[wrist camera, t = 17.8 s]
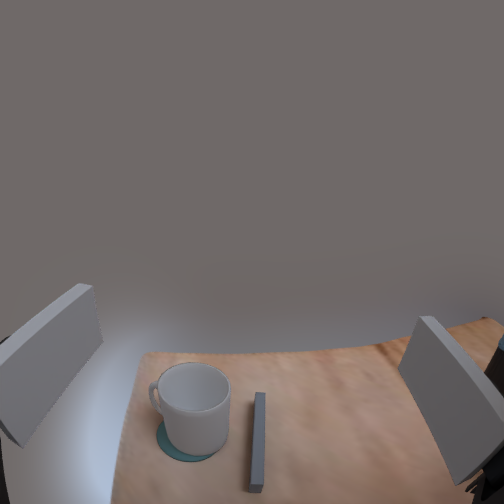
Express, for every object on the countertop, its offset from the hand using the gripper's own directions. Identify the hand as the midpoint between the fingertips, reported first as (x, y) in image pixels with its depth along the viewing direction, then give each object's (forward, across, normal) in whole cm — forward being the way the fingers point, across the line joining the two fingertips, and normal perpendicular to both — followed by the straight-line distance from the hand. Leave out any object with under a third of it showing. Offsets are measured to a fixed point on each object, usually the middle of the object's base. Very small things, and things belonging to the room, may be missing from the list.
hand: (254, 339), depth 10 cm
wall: (+16, +3, -32) cm, 36 cm away
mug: (+16, -8, -32) cm, 36 cm away
